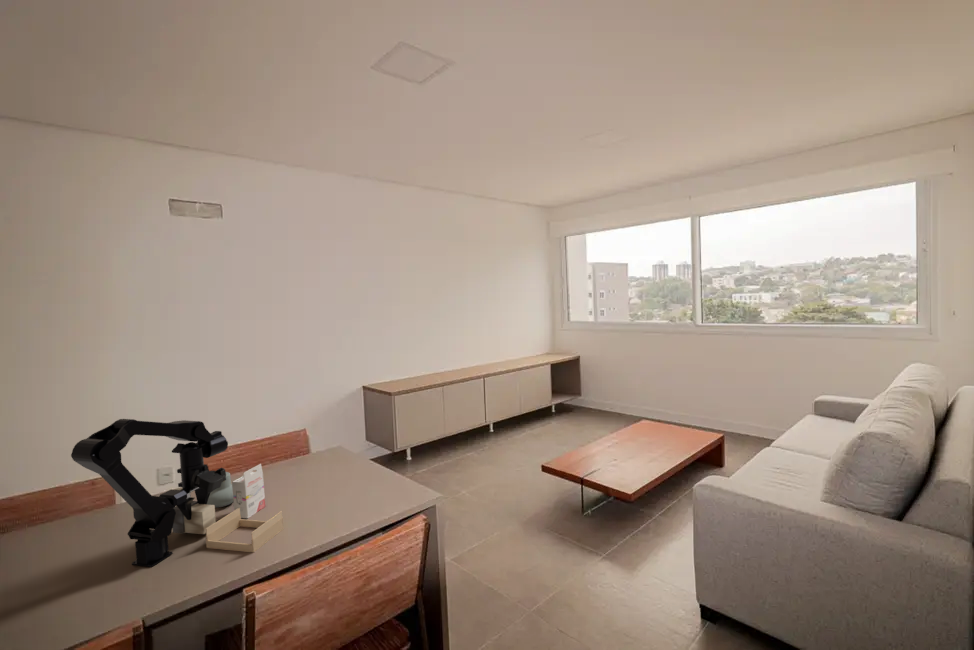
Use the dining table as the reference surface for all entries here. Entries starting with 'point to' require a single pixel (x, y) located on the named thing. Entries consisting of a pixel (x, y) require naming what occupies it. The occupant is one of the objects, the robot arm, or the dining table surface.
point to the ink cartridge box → (249, 492)
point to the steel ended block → (194, 519)
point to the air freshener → (222, 494)
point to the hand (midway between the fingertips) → (195, 515)
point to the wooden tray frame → (233, 521)
